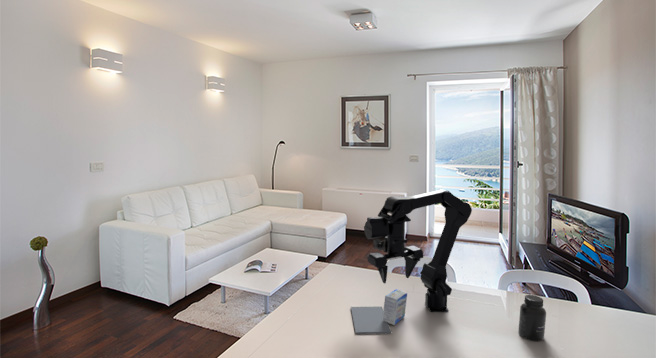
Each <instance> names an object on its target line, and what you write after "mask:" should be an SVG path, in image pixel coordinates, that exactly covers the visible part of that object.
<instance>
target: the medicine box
mask: <svg viewBox="0 0 656 358" xmlns="http://www.w3.org/2000/svg"><path fill="white" fill-rule="evenodd" d="M407 300H408V293H407V292H406V291H403V290H401V289H397V288H396V289H394V290H392V291H391V292H390V293H388V294H386V295H385V296H384V303H383V321H385V322H388V324H390V325H393V326H396V324H398V323H399V322H400V321H401V320H402V319H403V318H404V317H406V310H407V309H406V308H407V307H406V306H407Z"/></svg>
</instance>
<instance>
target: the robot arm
mask: <svg viewBox="0 0 656 358" xmlns="http://www.w3.org/2000/svg"><path fill="white" fill-rule="evenodd" d="M437 204H440V205H441V206H442V207H443V208H444V209H445V210H444V221H445V223H444V227H443V229H442V232H441V234H440V237H439V240H438V242H437V246H436V248H435V250H434V254H433V256H432V258H431V261H430V262H428V263H426V262H425V263H423V265H422V269H421V271H420V272H419V273H420V280H421V283H422V284H423V286H424V288H426V293H425V302H424V305H425V306H426V307H427V309H428V310H429V312H436V313H437V312H449V308H448V306H447V305H448V296H450V295H451V293H452V287H450V285H449V284H448V283H447V278H448V273H447V264H448V261H449V259H450V256H451V253H452V250H453V249H454V248H453V247H454V245H455V242H456V239H457V237H458V234H459V232H460V229H461V228H462V226H464V225H465V224H466V223H467V222H468V220H469V218H470V216H471V215H472V212H473V209H472V207H471V205H470V203H468V202H465V201H463V200H462V199H460V198H458V197H457V196H456V195H454V194H453V193H452V192H450V191H449V190H446V189H442V188H441V189H440V188H439V189H436V190H433V191H428V192H424V193H419V194H416V195H415V194H414V195H410V196H402V195H401V196H400V195H399V196H397V195H396V196H395V195H394V196H393V195H392V196H389V197H387V198H386V200H385V201H384V204H383V206H382V208H381V209H380V211H379V212H378V214H377V216H375V217H372V216H371V217H367V218H366V221H365V224H364V226H363V231H364V235H365V237H366V239H367V240H373V241H372V242H373V248H374V250H377V249H378V251H377V252H371V253H369V254H367V263H369V264H371V265H373V267H376V269H377V270H378V273H379V276H380V279H381V282H382V283H383V284H384V285H385V284H386V282H387V278H388V277H387V276H388V267H389V266H388V265H387V264H388V261H391V260H395V259H396V260H397V259H401V258H404V261H405V262H404V263H405V267H404V268H405V270H404V271H405V278H407V279H409V278H410V276H411V274H412V273H413V271H414V269H415V267H416V266H417V264H418V263H419V262H420V261H421V259H423V258H424V251H423V249H422V248H420V247H417V246H415V245H410V246H406V245H405V244H407V243H408V239H407V238H406V237H405V232H406V230H405V227H406V223H408V222H411V218H410V217H409V216H408V215H409V214H411V213H412V212H413V211H414V210H416V209H421V208H424V207H430V206H433V205H437ZM381 238H384V239H383V240H381ZM381 251H382V252H383V253H385V254H383V253H381Z"/></svg>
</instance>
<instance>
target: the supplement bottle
mask: <svg viewBox="0 0 656 358" xmlns="http://www.w3.org/2000/svg"><path fill="white" fill-rule="evenodd" d="M523 302H524V303H522V304H521V305H520V309H519V317H518V319H519V320H518V334H519V335H520V336H521V337H523V338H524V339H526V340H529V341H534V342H540V341H543V340H544V339H545V333H546V321H547V310H546V309H545V308H544V299H543V298H542V297H540V296H538V295H533V294H526V295H525V296H524V300H523Z"/></svg>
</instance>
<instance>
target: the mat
mask: <svg viewBox="0 0 656 358" xmlns="http://www.w3.org/2000/svg"><path fill="white" fill-rule="evenodd" d="M383 311H384V307H383V306H350V312H351V316H352V317H351V318H352V322H353V325H354V326H353V327H354V332H355V333H354V334H355V335H380V334H386V335H389V334H392V330H391V326H390V325H389V324H390V323H388V322H385V321H383Z"/></svg>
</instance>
